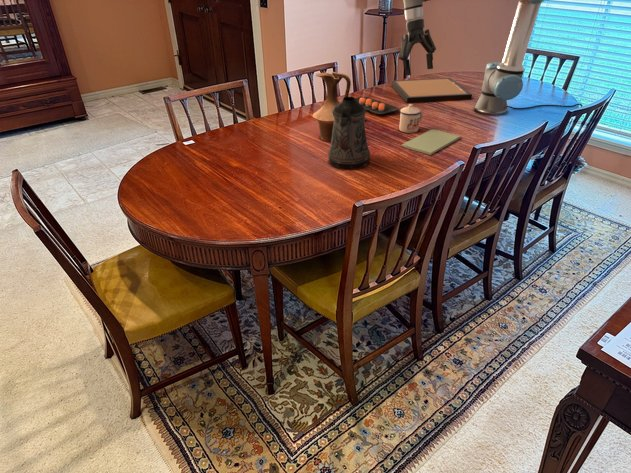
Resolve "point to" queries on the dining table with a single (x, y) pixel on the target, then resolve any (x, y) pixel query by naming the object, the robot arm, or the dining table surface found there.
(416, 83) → the cork board
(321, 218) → the dining table surface
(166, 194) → the dining table surface
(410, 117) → the teacup with lid
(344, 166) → the beer stein
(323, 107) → the pitcher
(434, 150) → the mat
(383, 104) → the sushi plate
